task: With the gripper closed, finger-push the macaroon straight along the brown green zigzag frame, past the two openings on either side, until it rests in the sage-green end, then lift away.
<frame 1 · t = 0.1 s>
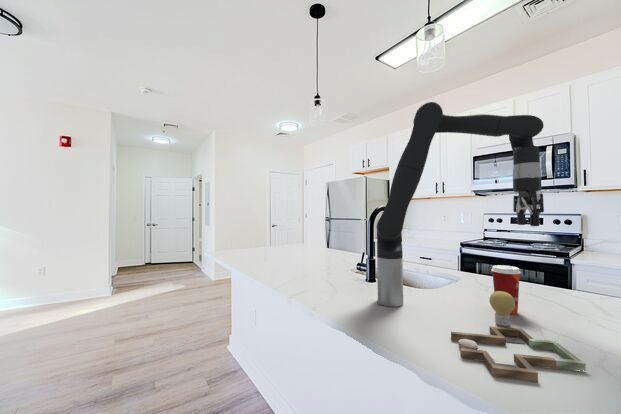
hand: (527, 225, 92), 29 cm above the counter, fingers open, 8 cm apart
brown green zigzag frame: (506, 352, 66), on the counter
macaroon: (469, 350, 68), on the counter
light bulb: (502, 325, 82), on the counter
coffee cup: (506, 311, 93), on the counter
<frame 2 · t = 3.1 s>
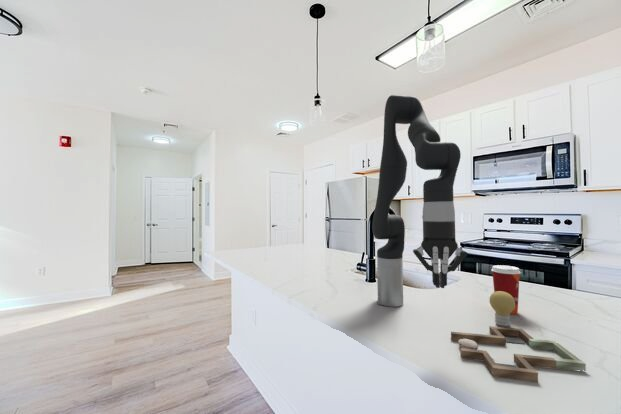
hand: (439, 287, 70), 15 cm above the counter, fingers closed
nothing on the counter moved.
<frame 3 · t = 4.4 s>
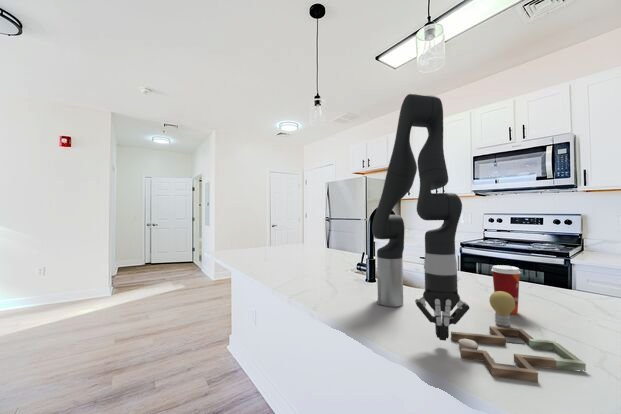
hand: (442, 339, 69), 2 cm above the counter, fingers closed
nothing on the counter moved.
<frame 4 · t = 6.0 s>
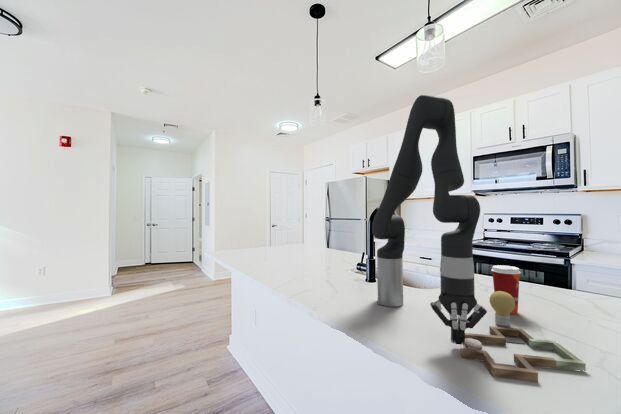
hand: (458, 342, 69), 1 cm above the counter, fingers closed
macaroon: (474, 349, 68), on the counter, touching gripper
everything else where it was.
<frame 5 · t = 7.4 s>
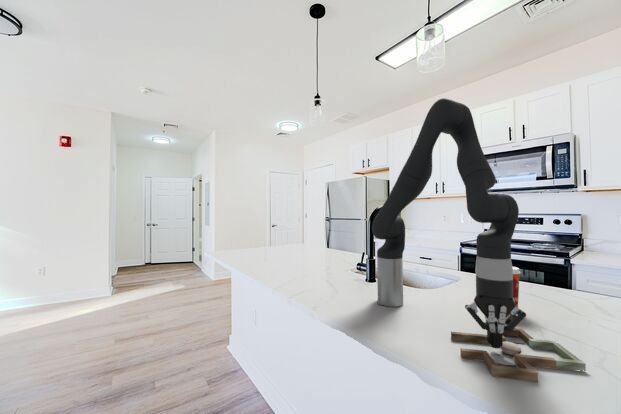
hand: (494, 346, 66), 1 cm above the counter, fingers closed
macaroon: (511, 353, 66), on the counter, touching gripper
everything else where it was.
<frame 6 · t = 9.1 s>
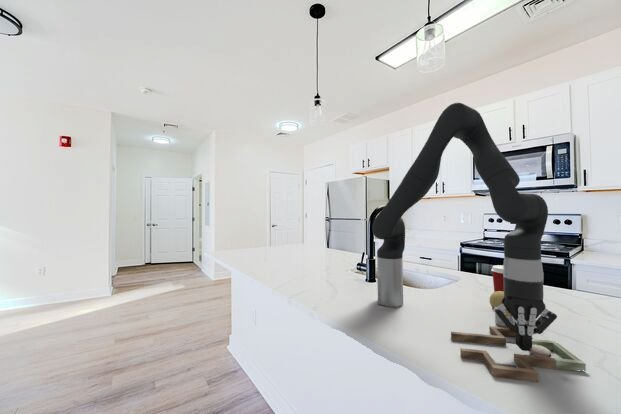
hand: (523, 349, 65), 1 cm above the counter, fingers closed
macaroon: (540, 356, 65), on the counter, touching gripper
everything else where it was.
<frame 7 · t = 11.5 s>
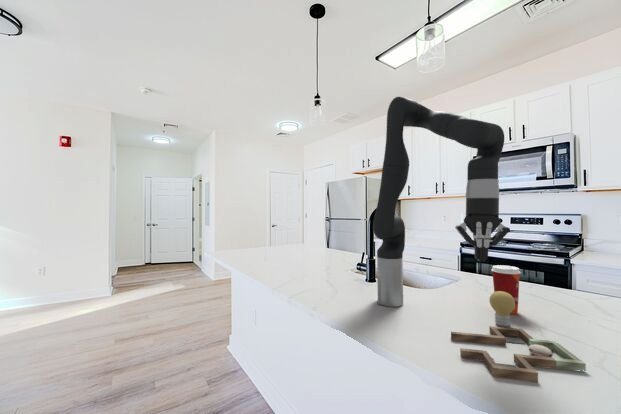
hand: (481, 260, 74), 21 cm above the counter, fingers closed
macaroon: (541, 356, 65), on the counter
everything else where it was.
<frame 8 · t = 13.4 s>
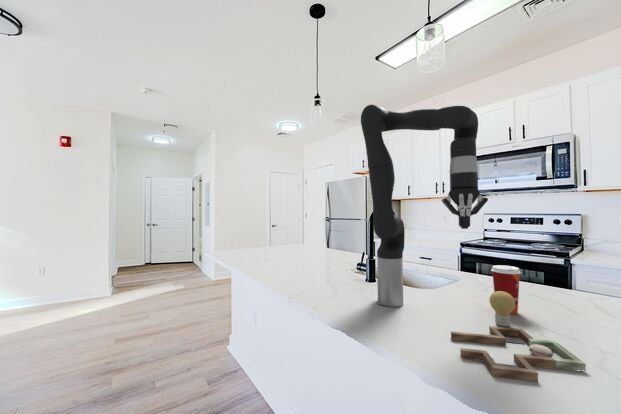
hand: (464, 228, 84), 29 cm above the counter, fingers closed
nothing on the counter moved.
at the end: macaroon inside the target area (1.4 cm from its centre), on the counter; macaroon moved 15.7 cm from its start; the gripper is holding nothing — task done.
